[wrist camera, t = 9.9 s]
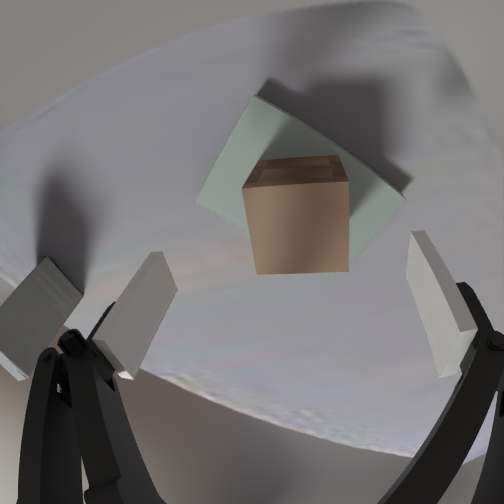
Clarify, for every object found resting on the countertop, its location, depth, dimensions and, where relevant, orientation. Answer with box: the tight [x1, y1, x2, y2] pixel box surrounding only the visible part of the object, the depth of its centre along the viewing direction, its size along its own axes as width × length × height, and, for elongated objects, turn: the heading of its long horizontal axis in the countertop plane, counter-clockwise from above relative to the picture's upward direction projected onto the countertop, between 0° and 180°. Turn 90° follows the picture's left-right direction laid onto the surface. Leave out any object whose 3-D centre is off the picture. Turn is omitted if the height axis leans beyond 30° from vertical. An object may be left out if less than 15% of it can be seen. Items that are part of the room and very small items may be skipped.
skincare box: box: [0, 256, 83, 381], centre depth 30 cm, size 8×7×16 cm
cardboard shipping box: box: [241, 155, 349, 274], centre depth 20 cm, size 6×6×6 cm
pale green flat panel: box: [195, 95, 406, 282], centre depth 22 cm, size 14×10×6 cm
